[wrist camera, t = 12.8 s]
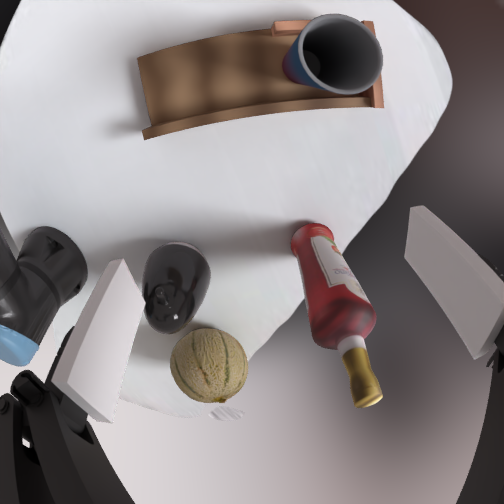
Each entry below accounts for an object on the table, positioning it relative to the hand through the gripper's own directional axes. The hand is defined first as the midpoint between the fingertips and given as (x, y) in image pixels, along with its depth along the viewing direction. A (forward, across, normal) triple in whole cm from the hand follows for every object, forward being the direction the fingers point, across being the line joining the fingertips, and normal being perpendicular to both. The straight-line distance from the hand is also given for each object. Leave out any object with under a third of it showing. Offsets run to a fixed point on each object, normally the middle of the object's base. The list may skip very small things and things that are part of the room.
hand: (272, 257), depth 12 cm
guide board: (+28, +2, +9) cm, 30 cm away
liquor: (+28, +7, -17) cm, 34 cm away
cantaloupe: (+28, -14, -36) cm, 48 cm away
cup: (+26, +8, +9) cm, 29 cm away
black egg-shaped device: (+28, -14, -16) cm, 36 cm away
